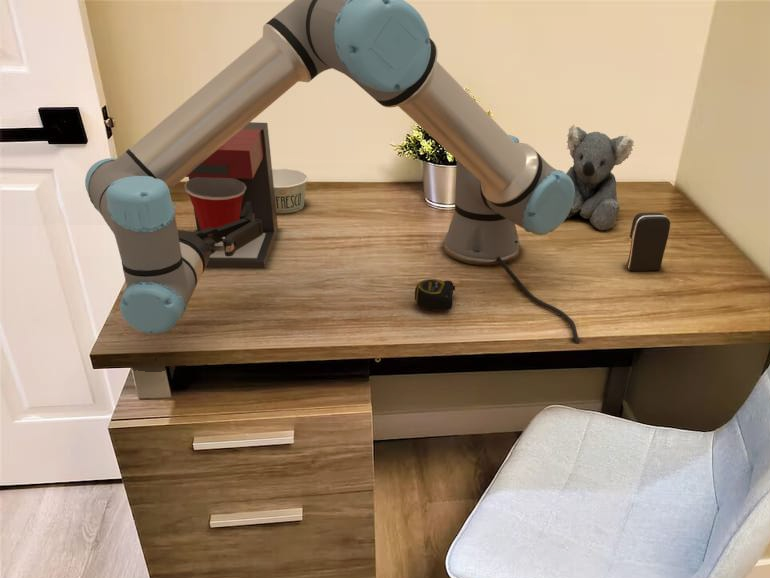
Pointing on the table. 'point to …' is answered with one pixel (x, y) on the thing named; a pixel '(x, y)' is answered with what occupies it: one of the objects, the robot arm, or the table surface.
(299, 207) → the food container
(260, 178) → the coffee maker
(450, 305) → the tape measure
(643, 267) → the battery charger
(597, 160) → the koala plush
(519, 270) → the table surface
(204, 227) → the plastic cup
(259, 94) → the robot arm
